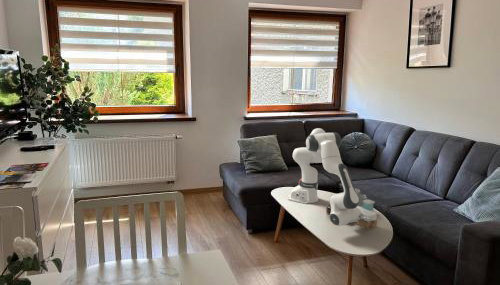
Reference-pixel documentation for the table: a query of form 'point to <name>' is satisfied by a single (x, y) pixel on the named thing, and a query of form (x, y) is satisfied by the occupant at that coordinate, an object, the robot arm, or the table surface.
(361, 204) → the circuit breaker
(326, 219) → the table surface
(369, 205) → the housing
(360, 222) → the stand
